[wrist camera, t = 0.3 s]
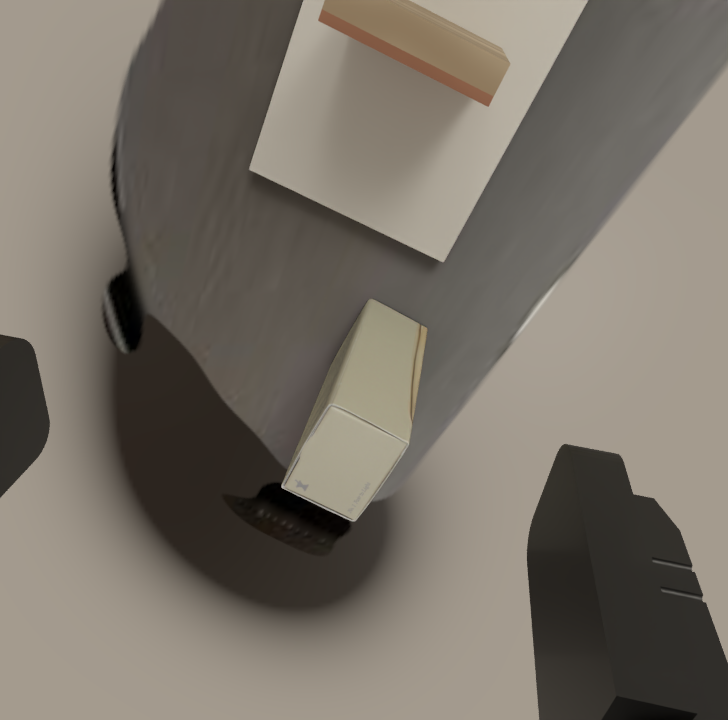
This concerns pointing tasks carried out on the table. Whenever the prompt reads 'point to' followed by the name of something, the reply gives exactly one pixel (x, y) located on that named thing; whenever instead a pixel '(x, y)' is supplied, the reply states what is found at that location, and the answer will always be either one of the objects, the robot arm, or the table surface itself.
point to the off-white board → (403, 120)
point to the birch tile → (422, 43)
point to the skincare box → (360, 414)
